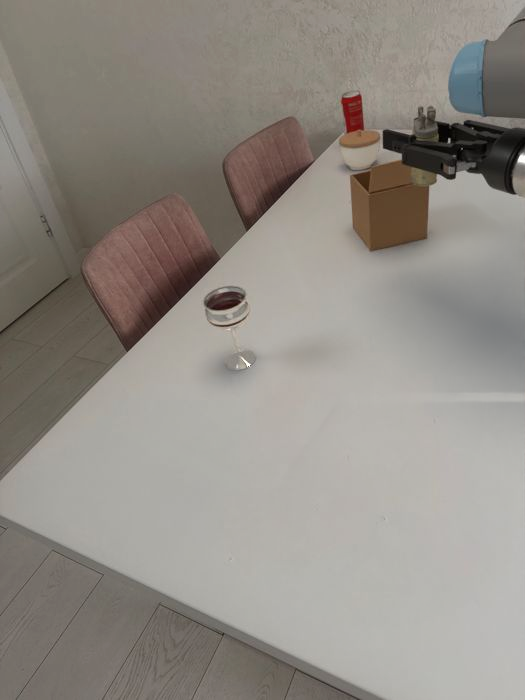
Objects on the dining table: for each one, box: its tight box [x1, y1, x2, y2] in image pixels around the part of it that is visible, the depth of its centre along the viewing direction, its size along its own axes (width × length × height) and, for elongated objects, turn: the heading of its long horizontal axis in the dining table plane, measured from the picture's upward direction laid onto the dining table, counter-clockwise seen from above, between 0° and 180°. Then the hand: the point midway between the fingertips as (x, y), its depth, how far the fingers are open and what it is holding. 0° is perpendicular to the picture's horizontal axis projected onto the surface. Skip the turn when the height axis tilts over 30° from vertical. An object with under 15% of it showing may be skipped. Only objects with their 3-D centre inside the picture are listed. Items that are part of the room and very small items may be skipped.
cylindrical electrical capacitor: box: [410, 105, 439, 187], centre depth 75 cm, size 7×4×10 cm, turn 171°
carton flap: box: [369, 158, 413, 193], centre depth 90 cm, size 6×12×1 cm
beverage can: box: [340, 90, 365, 135], centre depth 144 cm, size 6×6×15 cm
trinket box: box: [338, 129, 381, 171], centre depth 133 cm, size 11×11×9 cm
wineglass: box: [202, 285, 256, 371], centre depth 77 cm, size 7×7×12 cm
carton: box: [349, 169, 430, 252], centre depth 101 cm, size 12×12×12 cm
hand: (400, 132), depth 78 cm, fingers closed on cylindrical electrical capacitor, 6 cm apart
